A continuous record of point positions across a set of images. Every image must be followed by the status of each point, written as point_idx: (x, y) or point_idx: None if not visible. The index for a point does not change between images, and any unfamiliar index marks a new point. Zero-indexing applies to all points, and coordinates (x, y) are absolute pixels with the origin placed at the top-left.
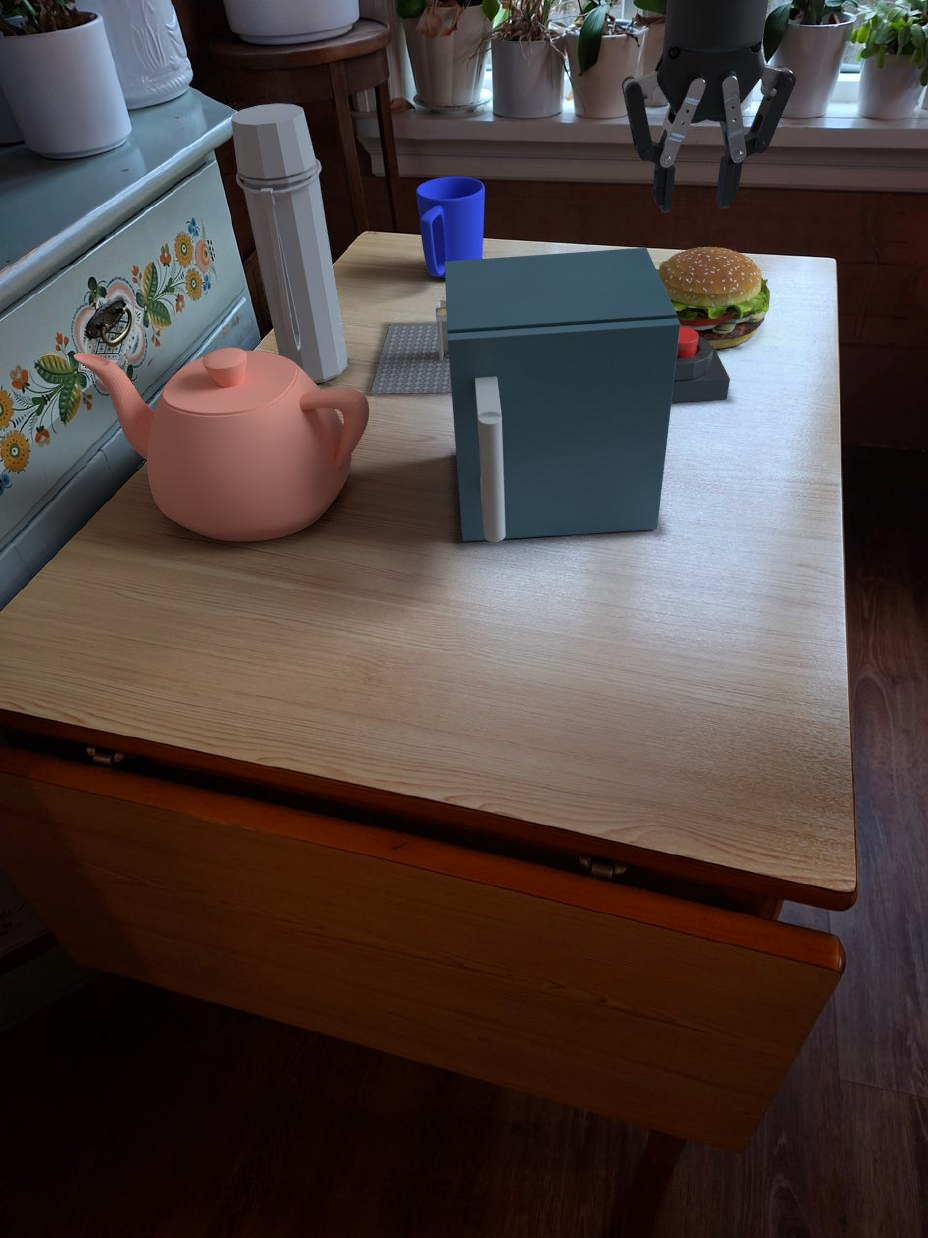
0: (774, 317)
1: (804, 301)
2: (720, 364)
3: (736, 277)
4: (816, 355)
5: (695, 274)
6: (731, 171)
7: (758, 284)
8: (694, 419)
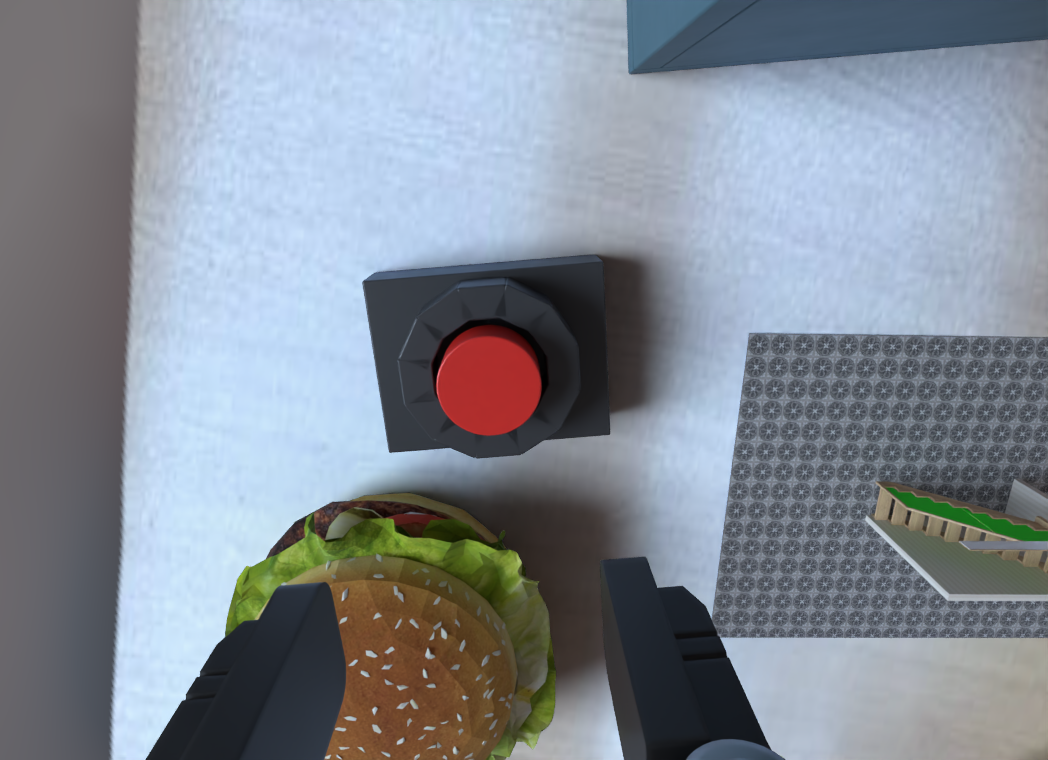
0: None
1: (163, 695)
2: (380, 355)
3: None
4: (149, 464)
5: (420, 649)
6: (215, 731)
7: None
8: (460, 182)
